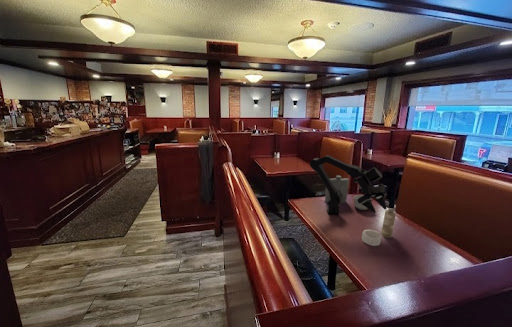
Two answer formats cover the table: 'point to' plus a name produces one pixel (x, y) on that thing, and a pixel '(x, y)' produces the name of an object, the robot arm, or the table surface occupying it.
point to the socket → (371, 237)
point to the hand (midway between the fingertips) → (380, 210)
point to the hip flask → (339, 187)
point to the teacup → (358, 203)
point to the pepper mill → (388, 223)
